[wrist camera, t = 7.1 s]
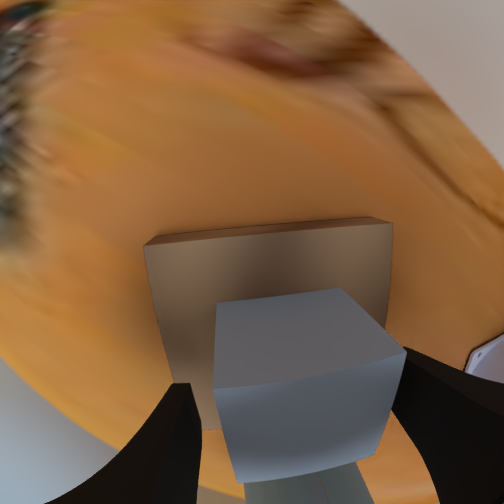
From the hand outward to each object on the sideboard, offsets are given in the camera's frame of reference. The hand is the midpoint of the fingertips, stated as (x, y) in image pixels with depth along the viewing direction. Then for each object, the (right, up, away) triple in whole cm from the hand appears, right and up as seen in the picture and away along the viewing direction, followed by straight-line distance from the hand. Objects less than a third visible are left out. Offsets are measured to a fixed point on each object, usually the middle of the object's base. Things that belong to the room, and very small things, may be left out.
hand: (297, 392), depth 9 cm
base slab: (0, +1, +5) cm, 5 cm away
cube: (0, +1, +3) cm, 3 cm away
